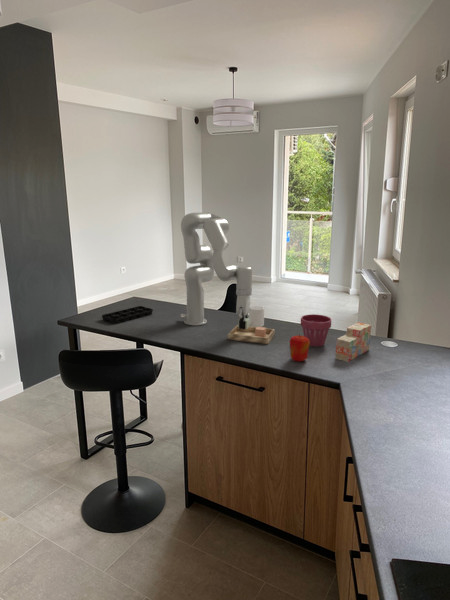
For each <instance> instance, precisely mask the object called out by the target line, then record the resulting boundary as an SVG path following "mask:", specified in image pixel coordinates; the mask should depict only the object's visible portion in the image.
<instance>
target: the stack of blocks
mask: <svg viewBox="0 0 450 600" xmlns="http://www.w3.org/2000/svg"><path fill="white" fill-rule="evenodd" d="M371 330H372V324H368V323H363V322H356V323H353V324H351V325H350V326H348V327H346V333H345V334H344V335H342V336H339V337H338V338H336V345H335V355H334V358H335V359H336V360H340V361H344V362H346V363H347V362H348V363H349V362H350V361H351V360H354V359H356V358H357V357H359V356H360V355H362V354H365V353H366V352H368V351H369V350H370V342H371V332H372V331H371Z"/></svg>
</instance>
